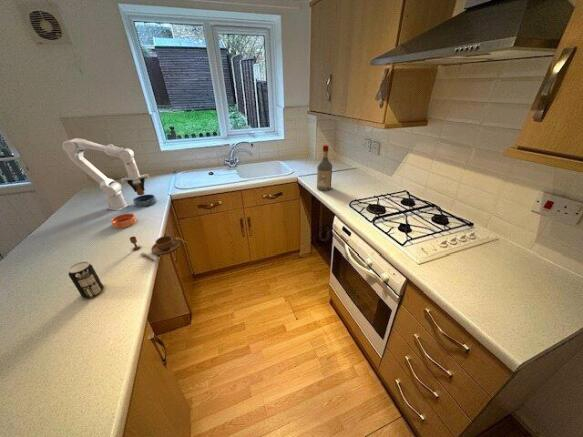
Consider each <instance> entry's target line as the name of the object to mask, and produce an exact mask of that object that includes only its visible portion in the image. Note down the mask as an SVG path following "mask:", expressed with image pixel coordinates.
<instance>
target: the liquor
mask: <svg viewBox="0 0 583 437" xmlns="http://www.w3.org/2000/svg"><path fill="white" fill-rule="evenodd" d="M316 170H317V172H316V175H317V176H316V177H317V178H316V189H317V190H318V191H323V192H328V191H330V190H331V187H332V177H333V164H332V163H331V161H329V145H328V144H323V145H322V159H321V161H320V162H319V164H318V165H317V169H316Z"/></svg>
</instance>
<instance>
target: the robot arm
mask: <svg viewBox="0 0 583 437" xmlns="http://www.w3.org/2000/svg"><path fill="white" fill-rule="evenodd" d="M87 149H88V150H93V151H98V152H103V153H105V154H106V155H107V156H111V157H115V158H118V159H120V160H122V163H123V164H124V167H125V170H126V172H127V175H128V176H127V177H126V176H125V177H122V178H120V181H121V183H124V182H127V184H128V186H130V187H131V188H132V190H133V191H134V192H135V193H137V192H136V189H135V187H134V183H135V182H134V181H137V180H138V181H139V182H140V183H141V184H142V188H143V191H144V192H145V190H146V189H145V181H146V179H150V176H149V174H148V173H146V174H140V171H139V168H138V166H137V162H136V160H135V152H134V150H132V149H131V148H129V147H125V148H124V147H122V146H120V147H119V146H116V145H114V144H111V143H110V144H107V145H103V144H100V143H96V142H94V141H90V140H87V139H84V138H79V137H74V138H72V139H70V140H65V141H63V143H62V150H63V151H64V152H65V153H66V154H67V156H68V158H69V160H70V161H71V162H72V163H74V164H75V165H76V166H77V167H78V168H79V169H81V170H82V171H83V172H84V173H86V174H87V175H88V176H89V177H90V178H92V179H93V180H94V181H95V182H97V183H98V184H99V189H100V190H102V192H103V194H104V195H105V196H104V200H105V202H106V205H107V210H114V211H117V210H119V211H121V210H123V209H125V208H126V207H129V206H131V204H130V203H127V202H126V200H125V197H124V195H123V193H122V186H123V185H122V184H121V183H119V182H118V181H115V180H114V179H112V178H109V177H107V176H106V175H105V174H104V173H102V171H100V170H99V169H98V168H97V167H96V166H94V165H93V164H92V163H91V162H90V161H89V160H87V158H85V157H84V153H85V150H87Z"/></svg>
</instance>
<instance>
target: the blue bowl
mask: <svg viewBox="0 0 583 437" xmlns="http://www.w3.org/2000/svg"><path fill="white" fill-rule="evenodd" d="M156 202H157V200H156V196H155V195H154V194H151V193H150V194H149V193H148V194H144V195H138V196H136V197H135V198H133V204H134V206H135V207H137V208H146V207H149V206H152V205H154V204H155V203H156Z"/></svg>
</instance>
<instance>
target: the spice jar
mask: <svg viewBox="0 0 583 437" xmlns="http://www.w3.org/2000/svg"><path fill="white" fill-rule="evenodd" d="M133 183H134V187H135V189H136V192H135V193H136V195H137V196H142V195H146V194H145V190H144V191H143V188H142V184H141V182H140V181H137V182H133Z"/></svg>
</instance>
